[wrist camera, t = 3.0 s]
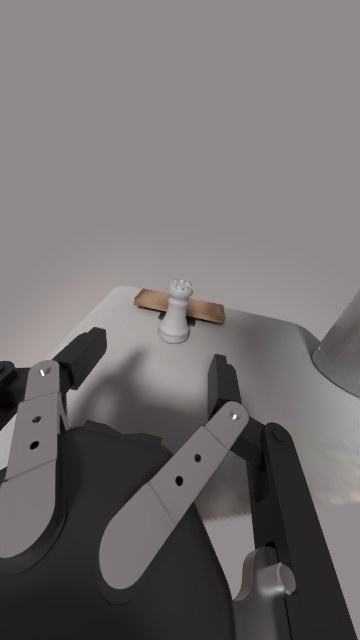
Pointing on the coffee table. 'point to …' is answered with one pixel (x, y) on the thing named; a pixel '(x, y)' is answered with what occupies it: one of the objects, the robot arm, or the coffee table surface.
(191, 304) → the beam
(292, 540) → the robot arm
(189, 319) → the fulcrum
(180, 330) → the rook chess piece
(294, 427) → the coffee table surface
